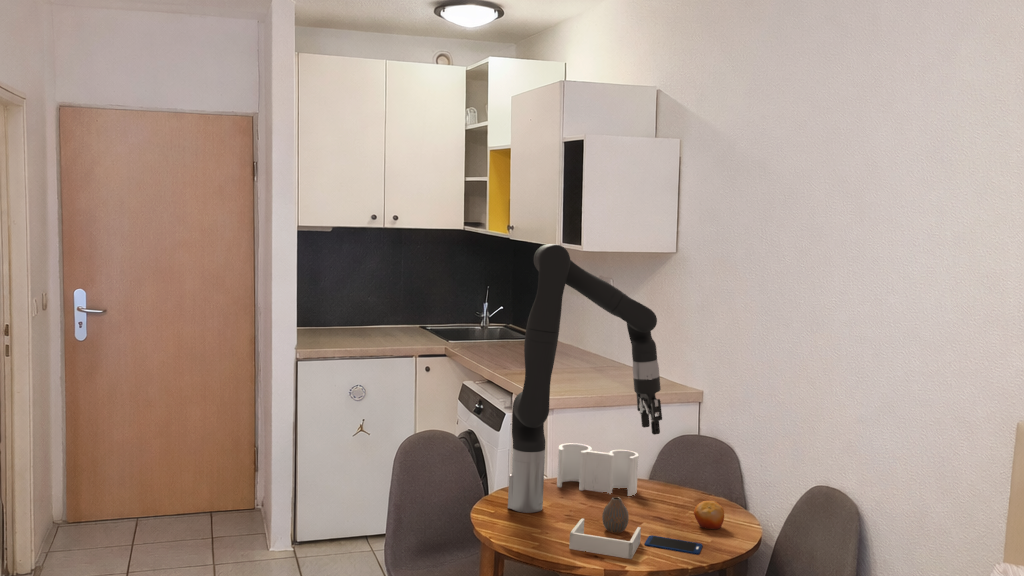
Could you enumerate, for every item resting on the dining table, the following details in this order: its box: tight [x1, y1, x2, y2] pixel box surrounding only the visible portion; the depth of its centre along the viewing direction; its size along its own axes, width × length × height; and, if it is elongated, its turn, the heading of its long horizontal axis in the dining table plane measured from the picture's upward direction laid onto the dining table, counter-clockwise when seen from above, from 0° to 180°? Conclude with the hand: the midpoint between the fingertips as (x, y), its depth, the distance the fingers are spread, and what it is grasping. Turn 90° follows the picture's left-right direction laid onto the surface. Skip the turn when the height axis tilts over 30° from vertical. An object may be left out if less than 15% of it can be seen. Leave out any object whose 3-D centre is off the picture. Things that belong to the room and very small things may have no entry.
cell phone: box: [643, 535, 703, 556], centre depth 210 cm, size 7×14×1 cm, turn 69°
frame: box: [568, 518, 642, 560], centre depth 207 cm, size 16×12×4 cm
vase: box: [601, 496, 629, 534], centre depth 218 cm, size 7×7×9 cm
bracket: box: [556, 442, 639, 497], centre depth 256 cm, size 25×10×12 cm, turn 70°
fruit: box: [693, 500, 725, 530], centre depth 225 cm, size 8×8×8 cm
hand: (650, 430), depth 239 cm, fingers open, 8 cm apart
